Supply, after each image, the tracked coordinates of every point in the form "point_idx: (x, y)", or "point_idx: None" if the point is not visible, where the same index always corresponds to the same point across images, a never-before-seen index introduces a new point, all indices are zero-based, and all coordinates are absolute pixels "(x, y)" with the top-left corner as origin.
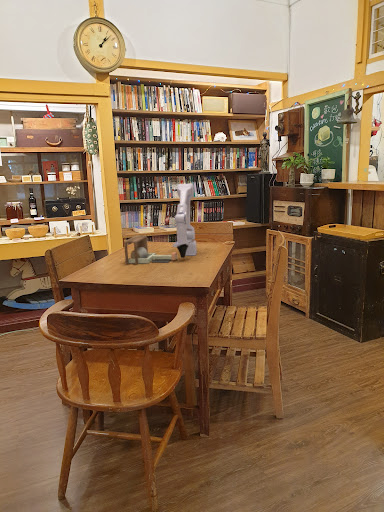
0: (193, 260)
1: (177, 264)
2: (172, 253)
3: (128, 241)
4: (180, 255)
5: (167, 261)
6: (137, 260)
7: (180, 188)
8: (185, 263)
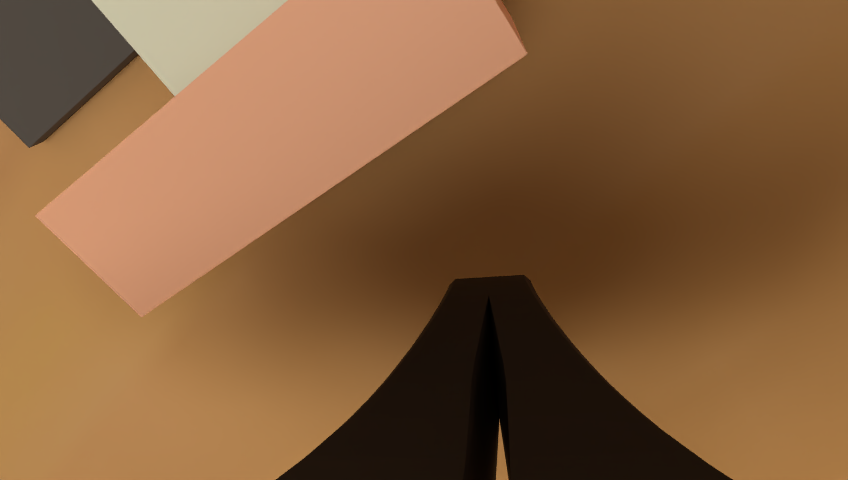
0: None
1: (148, 410)
2: (131, 149)
3: None
4: (440, 311)
5: (46, 58)
6: None
7: None
8: None
